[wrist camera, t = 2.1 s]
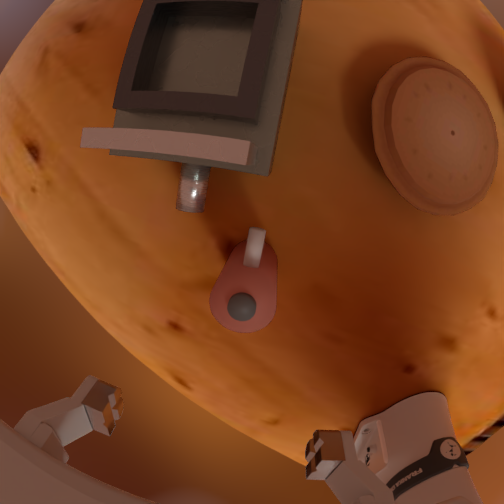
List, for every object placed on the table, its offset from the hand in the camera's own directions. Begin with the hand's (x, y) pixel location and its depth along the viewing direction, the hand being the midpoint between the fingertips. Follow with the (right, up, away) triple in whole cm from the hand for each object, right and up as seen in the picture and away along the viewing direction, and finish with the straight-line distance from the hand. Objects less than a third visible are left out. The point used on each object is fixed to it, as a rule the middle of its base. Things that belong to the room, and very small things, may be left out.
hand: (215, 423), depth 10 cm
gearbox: (-2, +21, +14) cm, 25 cm away
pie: (+19, +19, +13) cm, 30 cm away
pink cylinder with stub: (+2, +7, +18) cm, 20 cm away
